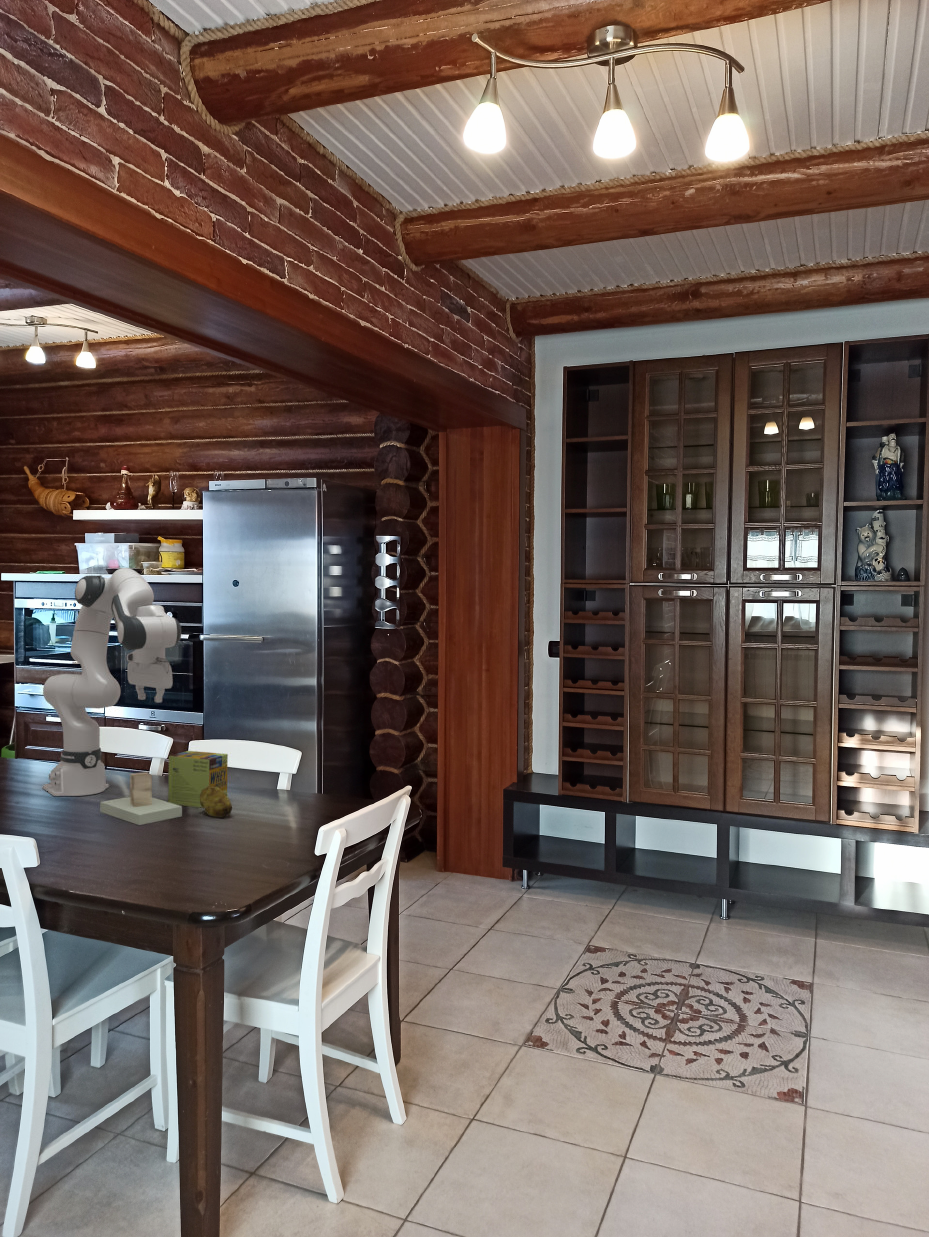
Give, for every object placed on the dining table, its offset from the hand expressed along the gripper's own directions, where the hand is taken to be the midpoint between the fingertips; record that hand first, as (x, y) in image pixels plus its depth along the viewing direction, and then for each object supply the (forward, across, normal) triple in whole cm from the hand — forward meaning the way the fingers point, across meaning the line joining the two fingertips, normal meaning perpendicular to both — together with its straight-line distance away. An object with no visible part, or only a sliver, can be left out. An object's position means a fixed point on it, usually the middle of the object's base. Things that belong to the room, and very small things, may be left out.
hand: (150, 700), depth 283 cm
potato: (+33, -23, -8) cm, 41 cm away
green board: (+33, -7, +7) cm, 35 cm away
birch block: (+30, -7, +7) cm, 32 cm away
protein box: (+33, -7, -13) cm, 36 cm away
